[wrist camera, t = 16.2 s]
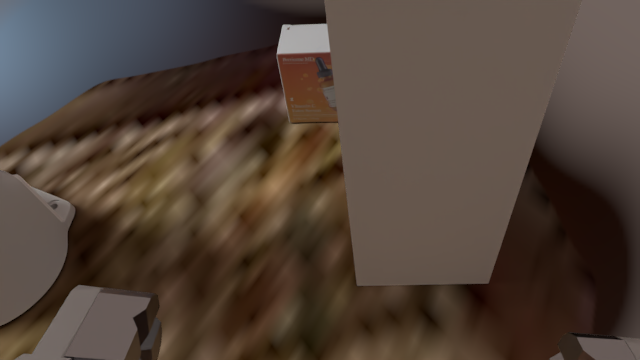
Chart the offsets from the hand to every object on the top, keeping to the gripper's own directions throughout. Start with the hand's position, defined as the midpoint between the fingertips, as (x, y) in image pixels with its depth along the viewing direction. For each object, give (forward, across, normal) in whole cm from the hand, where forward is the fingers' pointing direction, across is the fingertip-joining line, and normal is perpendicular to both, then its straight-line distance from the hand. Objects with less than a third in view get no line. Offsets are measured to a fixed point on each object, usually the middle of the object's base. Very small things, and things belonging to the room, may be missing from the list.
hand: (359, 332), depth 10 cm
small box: (+51, 0, +19) cm, 54 cm away
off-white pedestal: (+35, -10, +21) cm, 43 cm away
